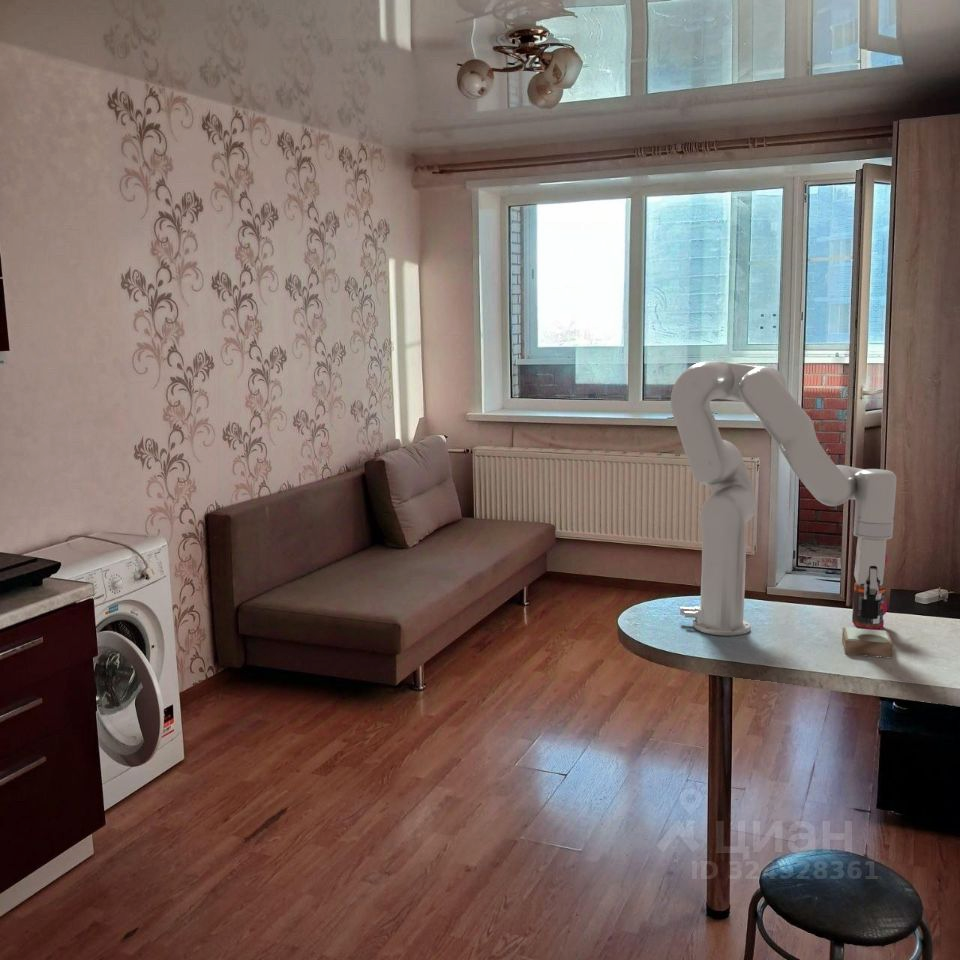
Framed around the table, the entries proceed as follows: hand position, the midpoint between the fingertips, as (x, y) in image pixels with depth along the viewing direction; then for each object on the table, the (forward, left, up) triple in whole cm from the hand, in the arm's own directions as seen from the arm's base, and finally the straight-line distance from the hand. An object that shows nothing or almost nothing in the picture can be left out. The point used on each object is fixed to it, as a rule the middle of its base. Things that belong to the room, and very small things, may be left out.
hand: (867, 612), depth 202 cm
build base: (0, 0, -8) cm, 8 cm away
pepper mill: (+2, +17, -8) cm, 19 cm away
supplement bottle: (0, 0, -3) cm, 3 cm away
